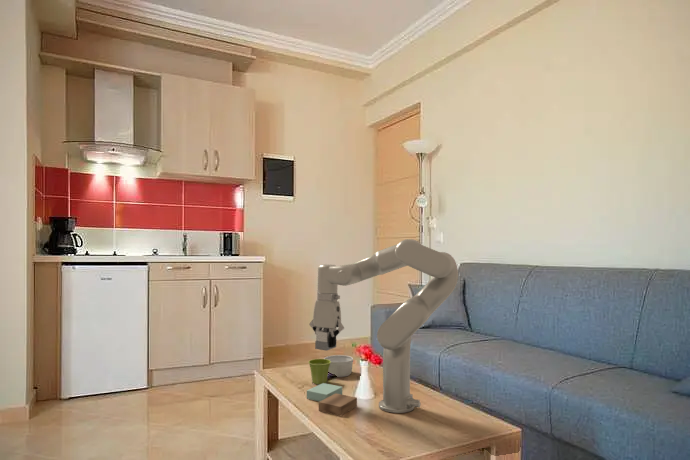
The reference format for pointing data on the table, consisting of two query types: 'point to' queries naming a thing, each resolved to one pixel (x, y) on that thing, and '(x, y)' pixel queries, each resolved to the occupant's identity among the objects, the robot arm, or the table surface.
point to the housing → (323, 339)
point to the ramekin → (340, 365)
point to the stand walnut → (337, 404)
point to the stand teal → (323, 391)
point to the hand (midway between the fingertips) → (326, 345)
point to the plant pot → (319, 370)
